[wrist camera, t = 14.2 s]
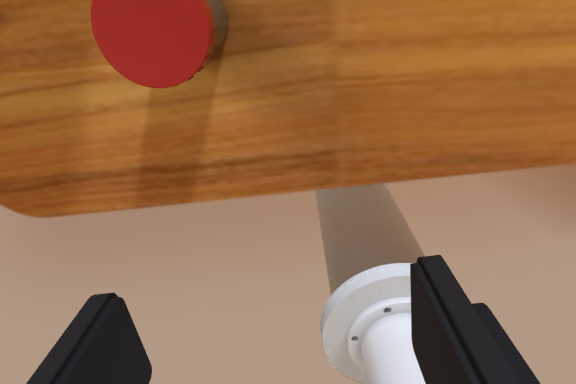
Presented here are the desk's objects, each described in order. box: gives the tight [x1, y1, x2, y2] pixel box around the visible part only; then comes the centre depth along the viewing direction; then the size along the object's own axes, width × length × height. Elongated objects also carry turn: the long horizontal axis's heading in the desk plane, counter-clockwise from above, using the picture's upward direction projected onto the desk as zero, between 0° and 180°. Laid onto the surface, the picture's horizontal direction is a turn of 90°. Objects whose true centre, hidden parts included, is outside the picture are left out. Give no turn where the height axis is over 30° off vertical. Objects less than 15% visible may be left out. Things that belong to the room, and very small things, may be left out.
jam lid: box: [91, 0, 216, 88], centre depth 22 cm, size 7×7×2 cm
